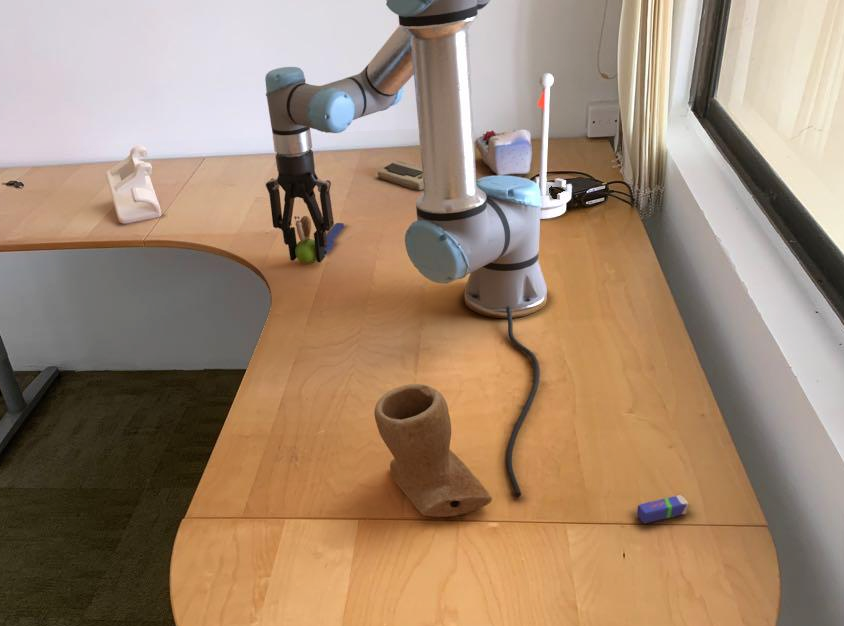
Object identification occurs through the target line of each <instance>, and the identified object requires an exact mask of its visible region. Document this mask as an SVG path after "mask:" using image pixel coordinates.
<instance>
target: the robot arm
mask: <svg viewBox="0 0 844 626" xmlns="http://www.w3.org/2000/svg"><path fill="white" fill-rule="evenodd" d="M385 1H386V4H385V6H387V9H389V10H390V11H391V12H392V13H393V14H395V15H397V16H398V24H399V25H398V27H396V29H395V30H394V32H393V33H392V34H391V35H390V37H389V38H388V39H387V40H386V41H385V43H384V44H383V45H382V46H381V48H379V50H378V51H377V52H376V54H375V55H374V56H373V58H372V59H371V60H370V61H369V63H368V64H367V65H366V67H364V69H362V70H361V72H359V73H357V74H355V75H351V76H348V77H345V78H342V79H338V80H335V81H331V82H329V83H326V84H322V85H314V84H309V83H306V77H305V74H304V71H303V69H301V68H300V67H297V66H284V67H278V68H275V69H271V70H269V71H268V72H267V73H266V74H265V77H264V79H265V81H264V82H265V91H266V93H265V96H266V100H267V108H268V114H269V120H270V126H271V127H270V128H271V132H272V141H273V150H274V152H275V163H276V170H277V174H278V175H277V178H270V179H269V180H268V181H267V182H265V187H266V190H267V192H268V195H269V203H270V212H271V222H272V226H273V228H274V229H279V230H281V231H282V238H283V243H284V245H287V246H288V254H289V261H290V262H295V260H297V257H296V255H295V248H296V245H297V244H298V242H297V234H296V227H295V226H292V225H293V223H292V220H293V213H294V206H295V199H297V198H299V199H302V200H303V203H304V204H306V208H307V210H308V212H309V215H310V217H311V220H312V222H313V224H314V227H315V231H314V233H313V240H314V241H315V249H316V257H317V261H316V263H319V264H320V263H322V262H323V260H324V259H325V258H326V254H324V246H325V245H326V244H327V238H326V234H327V231H328V232H329V231H330V230H331V229H332V227H333V226H334V225H335V220H334V214H333V208H332V207H333V206H332V200H331V193H330V192H331V191H330V190H331V185H332V182H331V180H329V179H327V180H322V179H319V177H318V175H317V174H316V165H315V157H314V151H313V149H312V148H313V141H312V134H311V129H313V130H316V131H319V132H321V133H325V134H326V133H327V134H330V133H331V134H340V133H343V132H344V131H346V130H347V129H348V127H349V126H350V125H351V124H352V123H353V121H355V120H357V119H360V118H363V117H366V116H369V115H373V114H375V113H378V112H383V111H386V110H388V109H389V108H391V107H393V106H395V105H397V104H399V102H401V100H402V98H403V93H404V91H405V89H404V87H405V85H406V84H407V83H408V82H409V81H410V79H411V78H412V77H413V80H414V90H415V91H414V93H415V103H416V115H417V126H418V138H419V148H420V159H421V160H420V161H421V166H422V173H423V184H424V189H423V192H422V193H421V194H420V195H419V197H418V198H417V199H416V201H415V209H416V221H413V222H411V224H410V225H409V226H408V229H406V231H405V235H404V246H405V251H406V252H407V256H408V258H409V260H410V262H411V263H412V265H413V267H415V268H416V269H417V270H418V272H419V274H421V275H422V277H424V278H425V279H426V280H429V281H431V282H432V283H436V284H441V285H445V284H451V283H452V282H455V281H458V280H462V279H464V278H466V277H467V276H468V275H469V276H468V279H467V282H466V284H465V288H464V303H465V305H466V306H467V307H468V309H470V310H471V311H473V312H475V314H476V313H477V314H479V315H482V316H485V317H490V318H495V319H496V318H497V319H498V318H499V319H507V334H508V338H509V340H510V341H511V343H512V344H513V345H514V347H516V348H517V349H519V350H520V351H522V352H523V353H524V354H526V355H527V356H528V357H529V358H530V360H531V362H532V365H533V368H534V369H533V370H534V374H533V375H534V376H533V383H532V387H531V391H530V393H529V395H528V397H527V400H526V402H525V404H524V406H523V408H522V410H521V413H520V414H519V416H518V418H517V420H516V421H515V424H514V426H513V429H512V431H511V434H510V437H509V440H508V443H507V447H506V453H505V466H506V472H507V476H508V479H509V480H510V485H511V486H512V490H513V493H514V496H515V497H516V498H519V497H521V496H522V493H521V489H520V486H519V484H518V480H517V479H516V476H515V473H514V468H513V452H514V446H515V444H516V439H517V436H518V434H519V430H520V428H521V426H522V424H523V422H524V421H525V418H526V416H527V415H528V412H529V410H530V408H531V405H532V403H533V401H534V400H535V396H536V395H537V391H538V388H539V383H540V374H541V373H540V371H541V369H540V364H539V361H538V359H537V357H536V355H535V354H534V353H533V352H532V351H531V350H530V349H528V348H527V347H526V346H524V345H523V344H522V343H520V342H519V341H518V340H517V338H516V337H515V336H514V332H513V330H514V326H513V325H514V322H513V318H520V317H523V316H524V317H525V316H528V315H531V314H534V313H536V312H538V311H540V310H541V309H542V308H544V307H545V305H546V303H547V301H548V287H547V284H546V280H545V278H544V275H543V272H542V267H541V265H540V261H539V257H540V256H539V253H540V231H541V230H540V229H541V225H540V224H541V219H540V210H541V206H542V204H541V196H540V188H539V187H538V185H537V184H536V183H535V181H533V180H531V179H528V178H526V177H521V176H515V175H503V176H500V175H499V176H498V175H488V176H487V175H486V176H483V177H480V178H477V173H476V172H477V170H476V152H475V135H474V133H475V132H474V116H473V97H472V78H471V60H470V59H471V58H470V57H471V56H470V40H469V29H470V27H471V26H472V25H473V23H474V22H475V21H476V19H477V18H478V17H479V13H478V12H479V11H481V10H482V9H484V8H485V7H486V6H487V5H488V4H489V3H490V2H491V1H492V0H385ZM280 187H281V189H282V190H283V192H284V199H283V201H284V203H283V212H282V203H281V194H280V192H281V191H280ZM316 187H317V191H318V192H319V200H320V206H321V207H320V206H319V204H318V201H317V199H316V193H315V190H314V189H315V188H316Z"/></svg>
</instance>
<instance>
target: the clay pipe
mask: <svg viewBox="0 0 844 626" xmlns="http://www.w3.org/2000/svg"><path fill="white" fill-rule="evenodd" d="M447 403H448V402H447V400H446V398H445V397H444V395H443V394H442V393H441V392H440V391H439V390H438V389H436V388H433V387H432V386H430V385H427V384H422V383H410V384H405V385H404V384H403V385H401V386H398V387H395V388H393V389H391V390H389V391H387V392H386V393H384V394H383V395H381V396H380V398H379V399H378V401H377V402H376V404H375V407H374V412H373V413H374V414H373V415H374V420H375V423H376V424H375V425H376V428H377V430H378V433H379V435H380V437H381V440H382V441H383V442H384V444H385V445H386V447H387V449H388V450H389V452H390V453H391V455H392V456H393V459H392V460H391V461H390V464H389V469H390V472H391V476H392V478H393V480H394V482H395V484H396V485H397V487H399V488H400V490H401V491H402V492H403V494H404V495H405V496H406V497H407V499H408V500H409V501H410V502H411V504H412V505H413V506H414V507H415V508H416V509H417V511H418V512H419V513H420V514H421V515H423V516H426V517H435V518H437V517H438V518H443V517H445V518H450V517H456V516H459V515H466V514H470V513H472V512H475V511H477V510H480V509H482V508H484V507H486V506H487V505H489V504H491V502H492V501H493V499H492V495H491V494H490V493H489V491H488V489H486V487H485V486H484V485H483V484H482V482H481V481H480V480H479V479H478V477H476V476H475V474H473V472H472V470H470V468H469V467H468V466H467V465H466V464H465V463H464V462H463V460H462V459H461V458H459V457H458V456H457V454H456V453H454V452H453V450H452V449H450V447H451V440H452V422H451V417H450V413H449V407H448V404H447Z"/></svg>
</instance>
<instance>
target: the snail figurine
mask: <svg viewBox="0 0 844 626" xmlns="http://www.w3.org/2000/svg"><path fill="white" fill-rule="evenodd" d="M293 217H294V218H293V219H294V220H295V226H296V227H295V228H296V232H297V235H298V236H297V237H298V238H299V240H300V241H298V242H297V245H296V248H295V255H296V257H297V258H296V260H297V261H299V262H300V263H301V264H303V265H312V264H314V263H317V257H316V249H315V241H314V239H312V238H311V234H312V233H311V231H312V221H311V219H310V217H309V216H307V215H304V216H302V217H301V216H299V215H297V216H293Z"/></svg>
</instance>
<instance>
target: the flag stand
mask: <svg viewBox="0 0 844 626" xmlns="http://www.w3.org/2000/svg"><path fill="white" fill-rule="evenodd" d="M554 80H555V79H554V76H553V74H551V73H549V72H545V73H543V74H542V75H541V76H540V77H539V84H540V86H541V87H542V93H541V96H540V98H539V100H538V102H537V104H536V106H537V107H539V108H540V109H541V123H540V149H539V151H540V152H539V174H538V175H539V176H535V181H534V182H535V183H536V184H537V185H538V187H539V188H540V196H541V204H542V206H541V210H540V220H544V219H553V218H556V217H559V216H561V215H563V214H565V212H567V203H568V202H569V201H571V199H572V193H573V191H572V190H573V185H572V183H568V184H567V180H566V179H563V178H559V177H557V178H555V179H554V181H547V180H548V177H547V171H548V170H547V169H548V167H547V166H548V148H549V147H548V146H549V145H548V143H549V122H550V121H549V119H550V98H551V97H550V96H551V87H552V86H553V84H554V82H555V81H554ZM551 186H552V187H561V188H563V189H564V190H565V191H563V192H561V193H558V194H557V199H553V198H552V196H551V195H550V193H549V188H550V187H551Z"/></svg>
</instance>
